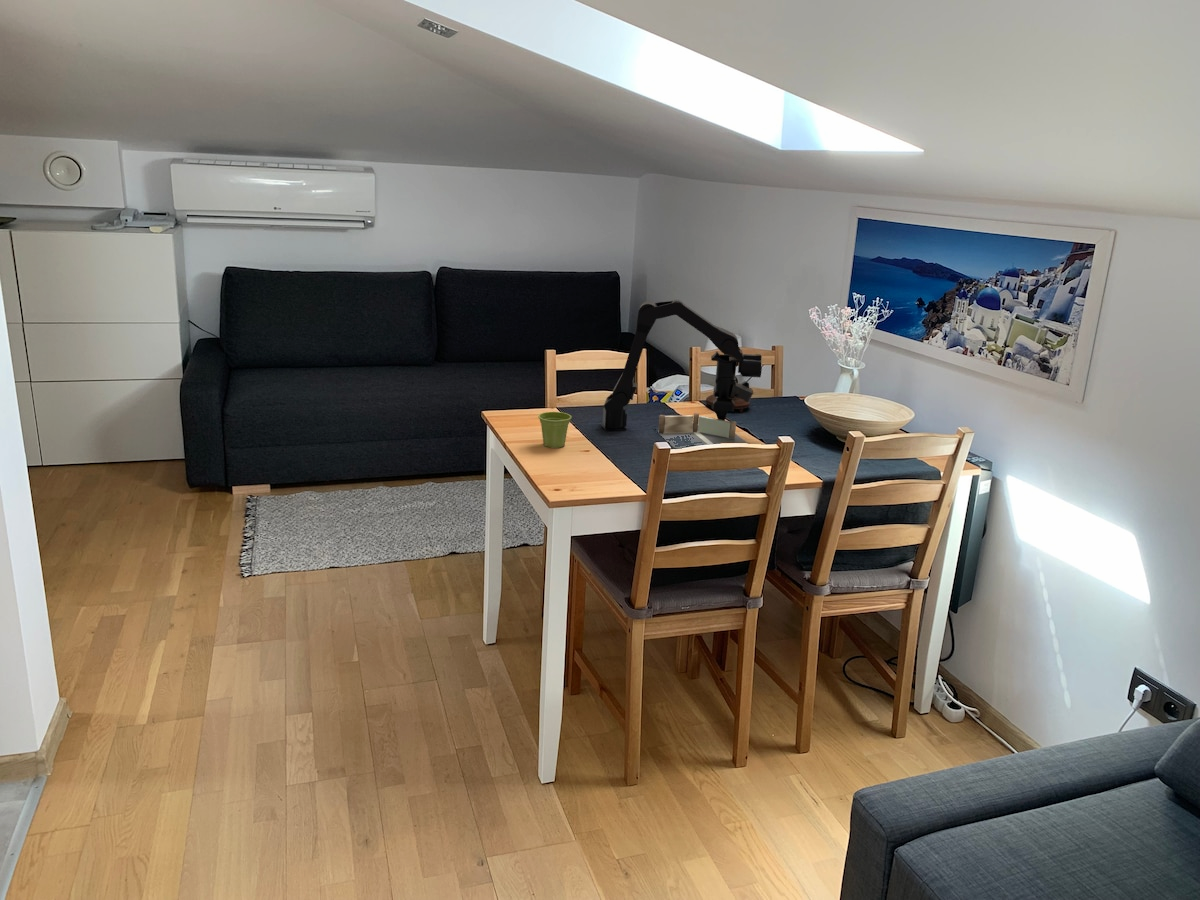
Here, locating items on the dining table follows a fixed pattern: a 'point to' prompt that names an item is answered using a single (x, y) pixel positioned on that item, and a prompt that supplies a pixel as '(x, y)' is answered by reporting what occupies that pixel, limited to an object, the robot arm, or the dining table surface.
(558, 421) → the plant pot
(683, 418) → the fence fixed section
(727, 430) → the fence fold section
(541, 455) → the dining table surface
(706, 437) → the card
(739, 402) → the brown round-based upright piece
